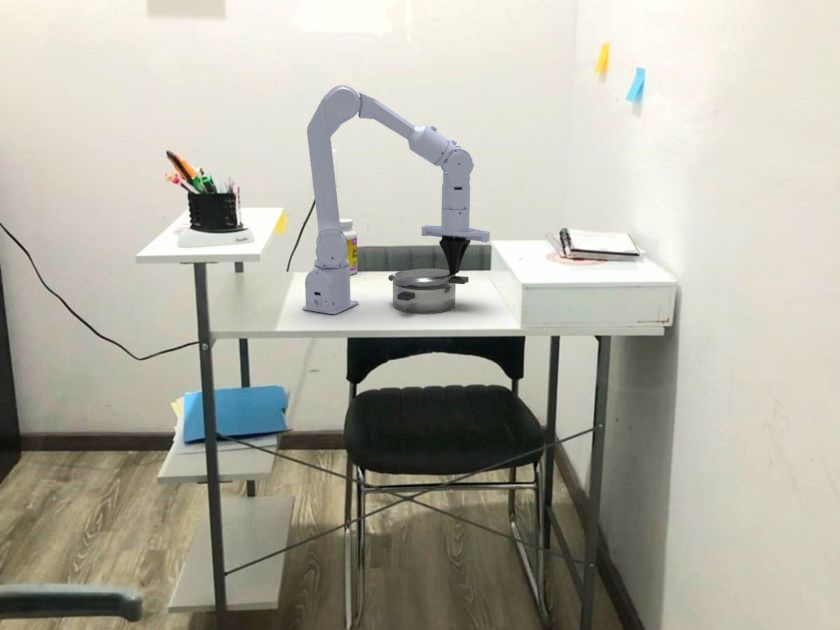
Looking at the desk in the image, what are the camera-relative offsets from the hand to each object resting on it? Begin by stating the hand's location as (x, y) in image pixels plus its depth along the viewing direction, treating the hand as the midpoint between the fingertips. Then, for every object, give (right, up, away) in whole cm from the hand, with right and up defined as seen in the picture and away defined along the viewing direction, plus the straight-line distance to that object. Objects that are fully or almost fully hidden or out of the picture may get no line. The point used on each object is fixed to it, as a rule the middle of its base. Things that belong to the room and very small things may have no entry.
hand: (454, 272), depth 169 cm
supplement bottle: (-26, +1, +28) cm, 38 cm away
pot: (-6, -7, +1) cm, 9 cm away
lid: (-5, -2, -1) cm, 6 cm away
